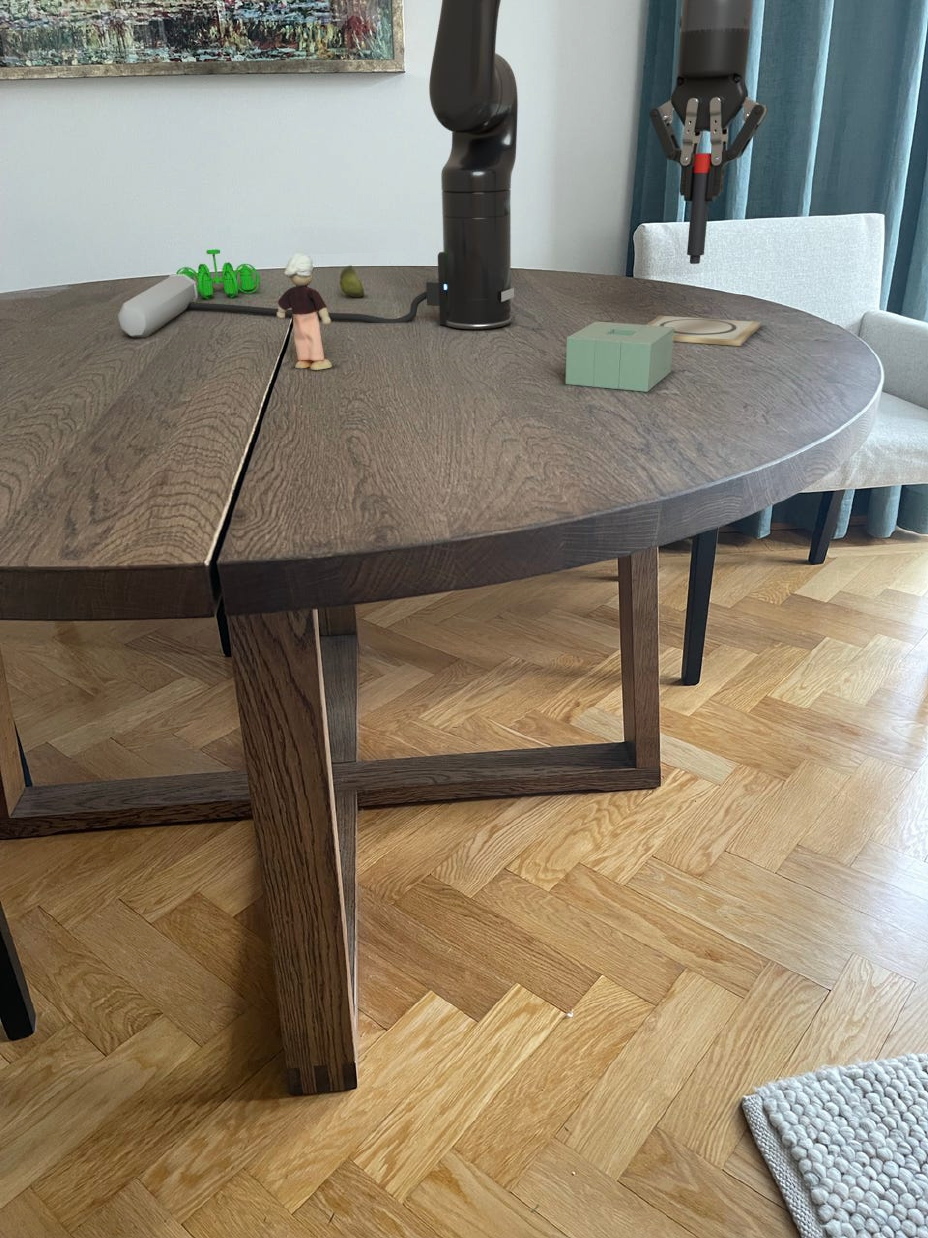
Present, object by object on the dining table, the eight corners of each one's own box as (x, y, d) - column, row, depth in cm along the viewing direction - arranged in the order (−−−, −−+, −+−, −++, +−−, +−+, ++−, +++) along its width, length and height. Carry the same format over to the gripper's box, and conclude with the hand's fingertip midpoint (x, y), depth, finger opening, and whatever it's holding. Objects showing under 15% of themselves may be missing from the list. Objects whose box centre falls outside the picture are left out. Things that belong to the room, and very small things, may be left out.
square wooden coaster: (631, 337, 121) (631, 331, 121) (659, 319, 131) (659, 313, 131) (740, 346, 116) (740, 339, 115) (760, 326, 126) (761, 320, 125)
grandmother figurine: (345, 364, 112) (336, 252, 106) (331, 371, 109) (320, 256, 103) (289, 360, 114) (276, 250, 108) (273, 368, 111) (259, 255, 105)
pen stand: (565, 383, 102) (566, 337, 99) (593, 365, 109) (595, 321, 106) (647, 392, 98) (650, 343, 95) (670, 372, 105) (674, 326, 103)
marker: (683, 264, 113) (692, 153, 107) (688, 261, 115) (697, 152, 109) (700, 264, 112) (710, 153, 106) (705, 262, 114) (715, 152, 108)
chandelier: (194, 285, 168) (188, 244, 165) (274, 285, 166) (269, 244, 163) (159, 300, 155) (152, 256, 152) (245, 300, 153) (240, 255, 150)
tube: (153, 309, 125) (201, 278, 147) (113, 297, 124) (167, 268, 146) (148, 348, 128) (195, 312, 149) (109, 336, 127) (162, 301, 149)
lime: (352, 294, 156) (349, 262, 154) (374, 296, 154) (371, 264, 151) (334, 298, 153) (331, 266, 151) (356, 300, 151) (353, 268, 148)
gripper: (786, 25, 102) (766, 198, 110) (663, 33, 108) (652, 197, 116) (772, 21, 96) (752, 204, 104) (643, 29, 102) (633, 202, 110)
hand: (700, 199), depth 110 cm, fingers closed on marker, 2 cm apart
